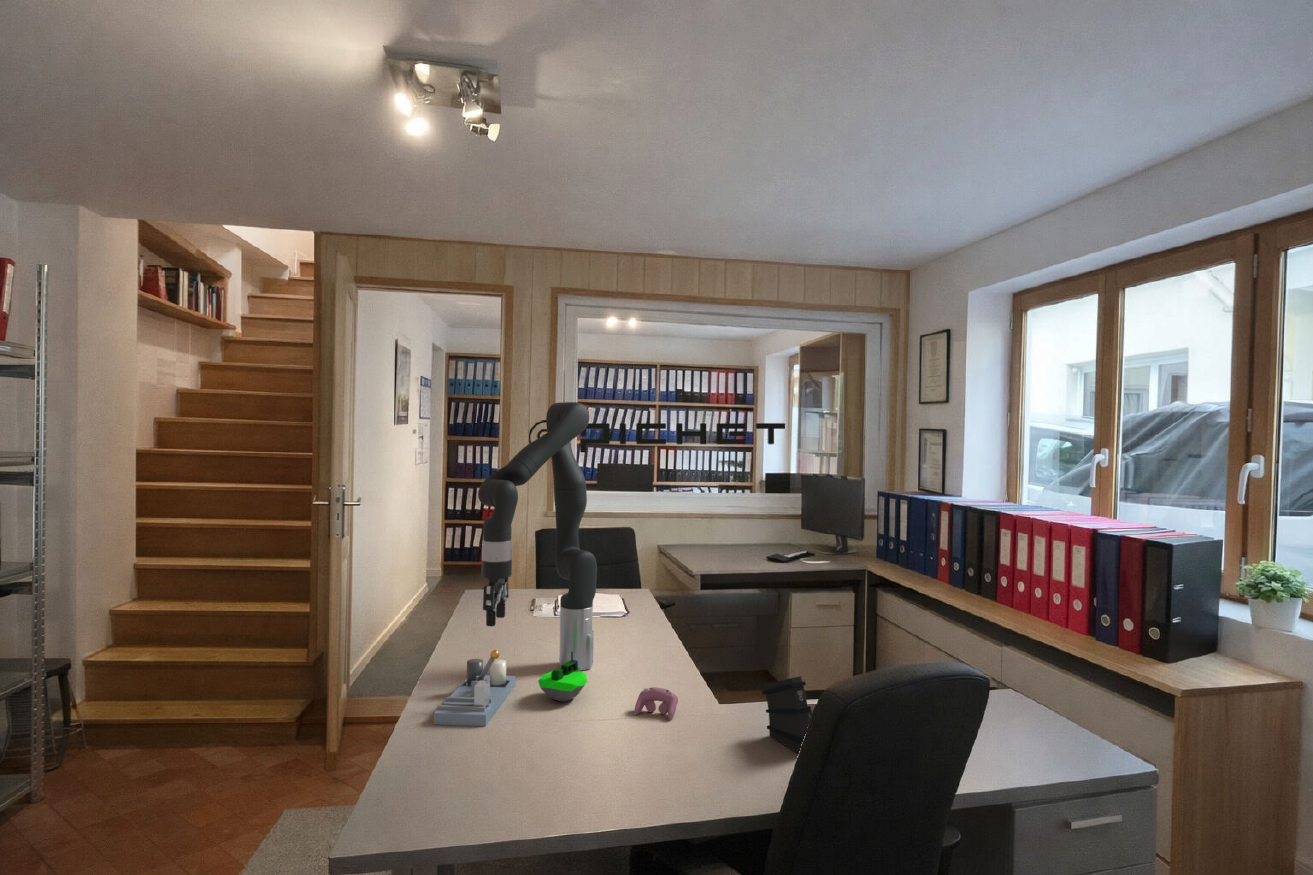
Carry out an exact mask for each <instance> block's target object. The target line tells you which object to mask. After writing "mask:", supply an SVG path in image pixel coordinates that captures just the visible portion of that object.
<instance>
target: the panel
mask: <svg viewBox="0 0 1313 875" xmlns="http://www.w3.org/2000/svg"><path fill="white" fill-rule="evenodd" d="M478 677H479V676H476V680H477V679H478ZM516 679H517V678H516V675H506V683H505V684H502V685H492V684H490V702H489V703H488V705H487V706H486V707H476V706H474V686H475V685H476V684H477V683H478V682H479V681H471V684H468V683H467V678H466V679H465V680H463V682H462V683H460V685H459V686H458V687H457V688H456V689H455V690H454V691H453V692H452V694H451V695H450V696H446V697H445V701H444V702H443V703H441V704H439V705H437V709H436V711H434V713H433V725H442V726H443V725H444V726H445V725H449V726H468V725H469V727H470V726H471V727H472V726H473V727H487V725H488V724H489V722H490V721H491V720H492V718H494V715H495V714H496V713H497V711H499V709H500V707H501V706H502V705H503V704H504V702H505V701H506V699H507V698H508V696H509V695H510V694H511V692H512V691H513V690H512V689H514V688H516V681H517V680H516ZM483 681H490V674H486V675H485V677H484V678H483Z"/></svg>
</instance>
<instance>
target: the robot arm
mask: <svg viewBox="0 0 1313 875" xmlns="http://www.w3.org/2000/svg"><path fill="white" fill-rule="evenodd" d="M545 417H546V419H545V420H546V422H545V423H546V430H547V432H546V433H545V434H543V435H541V436H540V437H538V438H536V439H535V440H533V441H531V442H530V443H528V444H526V445H525V446H524V447H522V449H521V450H519V451H518V453H516V454H515V455H514V456H513V457H512V458H511V460H509V462H508V463H507V464H505V465H504V466H503V467H501V468H499V469H498V470H497V471H495V472H492V474H490V475H489V476H487V478H485V479H484V481H483V482H481V484H480V486H479V488H478V492H477V497H478V500H479V502H480V503H481V504H482V505H484V506H487V507H491V508H492V507H493V512H492V514H491V516H489V517H486V518H485V519H484V521H483V527H482V529H483V530H482V532H483V533H482V548H481V577H482V578H484V579H487V580H488V584H487V585H483V592H482V593H483V598H482V599H483V600H482V610H483V611H485V612H486V614H485V615H486V617H485V618H486V619H485V621H486V622H485V624H486V627H495V626H496V625H497V624H496V623H497V620H496V619H497V618H498V619H499V618H500V619H502V618H504V617H506V603H507V601H508V600H507V599H509V579H510V577H511V576H512V575H513V573H512V572H513V571H512V570H513V569H512V568H513V566H512V565H513V545H512V524H513V519H514V516H515V513H516V510H517V505H518V500H519V494H518V493H519V492H518V488H517V487H518V486H519V487H520V486H523V485H525V484H526V483H528V482H529V480H531V479H532V477H533V476H535V474H536V473H537V472H538V471H539V470H540V468H542V467H543V465H544V464H545V463H547V462H548V461H549V460H550V459H551V468H552V476H553V478H552V479H553V480H552V481H553V483H552V485H553V497H554V498H553V500H554V509H555V512H554V513H555V528H556V530H555V531H556V540H555V569H556V572H557V574H558V576H559V577H560V578H561V579H563V580H566V581H568V582H569V583H568V591H567V592H566V593H564V594H562V595H561V596H560V601H559V602H560V604H559V606H560V608H559V610H560V611H559V659H558V660H559V666H558V667H559V669H561V665H562V664H564V663H566V662H568V661H570V660H571V652H573V660H577V661H578V667H579V668H580V669H579V671H583V670H584V671H585V670H591V668H592V666H593V665H594V639H595V638H594V636H595V634H594V632H595V631H594V630H593V618H594V617H593V615H594V612H593V610H594V599H595V597H596V591H597V577H598V563H597V559H596V557H595V555H594V554H593V553H592V552H590V551H588V550H582V549H580V536H579V530H580V529H579V528H580V525H581V521H582V519H583V517H584V513H585V511H586V508H587V503H588V498H587V496H588V495H587V482H586V478H585V475H584V473H583V470H582V468H581V467H580V465H579V463H578V461H577V459H576V457H575V455H574V453H573V449H572V443H571V441H573V439H575V438H577V437H578V436H579V435H580V434H582V433H583V432H584V431H585V430H586V429H587V427H588V425H589V422H590V412H589V410H588V408H587V406H586V405H584V404H583V403H581V402H578V401H577V402H576V401H575V402H574V401H568V402H567V401H564V402H555V403H553V404H551V405H550V406H549V407H548V409H547V412H546V416H545Z"/></svg>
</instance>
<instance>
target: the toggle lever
mask: <svg viewBox="0 0 1313 875" xmlns="http://www.w3.org/2000/svg"><path fill="white" fill-rule="evenodd" d="M499 657H500V651H499V650H497V649H493V650H492V651H491V652H490V657H489V659H488V660H487V663H486V664H485V666H483V671H482V672H481V674H480V676H479V677H478V679H477V680H476V681H480V680H482V681H483V678H484V677H485V675H487V673H488V672H489V671H490V667H491V665H492V663H493V662H494V660H498V658H499Z"/></svg>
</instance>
